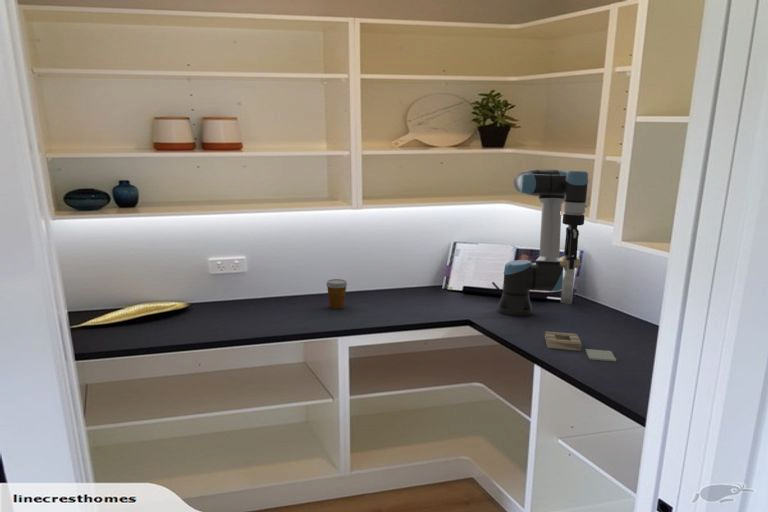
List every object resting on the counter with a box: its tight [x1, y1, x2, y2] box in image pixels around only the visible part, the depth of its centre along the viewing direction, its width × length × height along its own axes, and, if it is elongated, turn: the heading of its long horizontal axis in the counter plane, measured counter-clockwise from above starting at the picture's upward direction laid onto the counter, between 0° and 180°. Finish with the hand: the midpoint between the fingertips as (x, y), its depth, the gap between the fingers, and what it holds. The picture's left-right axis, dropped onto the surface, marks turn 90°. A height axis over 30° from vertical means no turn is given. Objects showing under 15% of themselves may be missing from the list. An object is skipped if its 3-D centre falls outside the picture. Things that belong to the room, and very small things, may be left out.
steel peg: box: [559, 255, 581, 305], centre depth 210 cm, size 7×7×17 cm
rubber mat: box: [584, 348, 617, 363], centre depth 203 cm, size 9×9×1 cm
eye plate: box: [544, 331, 583, 352], centre depth 214 cm, size 12×12×2 cm
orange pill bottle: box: [326, 278, 348, 310], centre depth 255 cm, size 10×10×12 cm
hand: (568, 274), depth 209 cm, fingers closed on steel peg, 7 cm apart
